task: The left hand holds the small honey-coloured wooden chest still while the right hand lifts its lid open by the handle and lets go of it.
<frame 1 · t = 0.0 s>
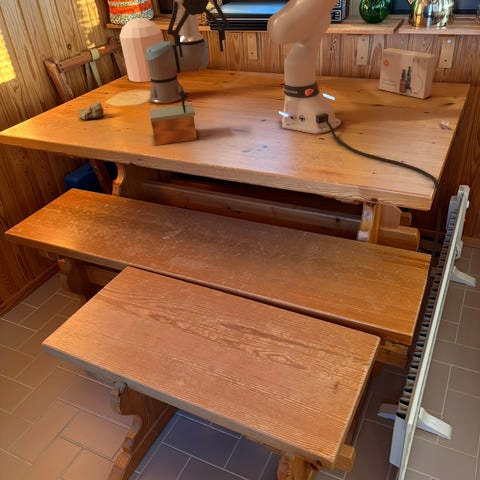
left hand: (201, 53, 154), 28 cm above the table, tool pointing down, fingers open, 13 cm apart
chest: (175, 137, 170), on the table
container: (148, 76, 243), on the table
lid: (170, 102, 162), point 13 cm above the table, hinge at 0.0°
skincare box: (403, 93, 189), on the table
rock: (92, 116, 197), on the table
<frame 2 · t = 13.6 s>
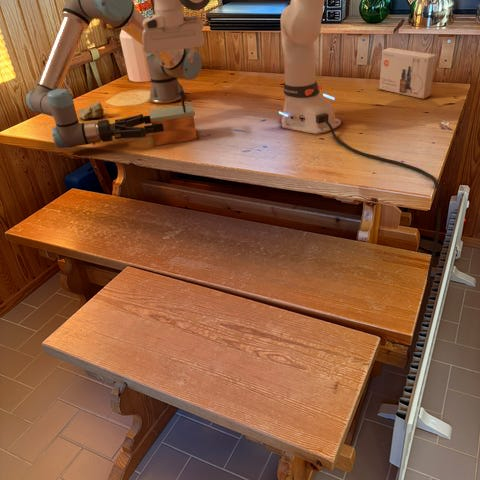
left hand: (162, 122, 166), 6 cm above the table, tool horizontal, fingers closed on chest, 9 cm apart
right hand: (176, 63, 156), 26 cm above the table, tool pointing down, fingers open, 8 cm apart
chest: (175, 137, 170), on the table, touching left hand
everything else where it was.
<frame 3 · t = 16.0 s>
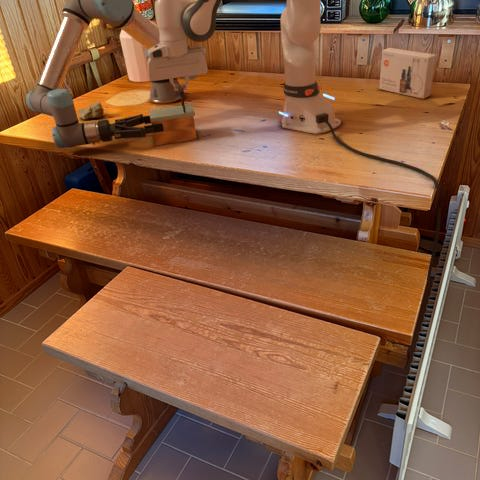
left hand: (162, 122, 166), 6 cm above the table, tool horizontal, fingers closed on chest, 9 cm apart
right hand: (180, 89, 161), 17 cm above the table, tool pointing down, fingers closed on lid, 2 cm apart
chest: (175, 137, 170), on the table, touching left hand
lid: (170, 102, 162), point 13 cm above the table, hinge at 0.0°, touching right hand
everything else where it was.
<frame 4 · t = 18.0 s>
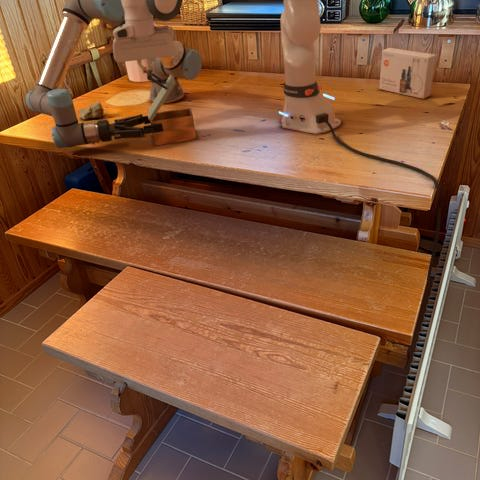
left hand: (161, 122, 166), 6 cm above the table, tool horizontal, fingers closed on chest, 9 cm apart
right hand: (148, 72, 156), 24 cm above the table, tool pointing down, fingers closed, pressing on lid
chest: (174, 137, 170), on the table, touching left hand
lid: (151, 91, 159), point 18 cm above the table, hinge at 48.2°, touching right hand
everything else where it was.
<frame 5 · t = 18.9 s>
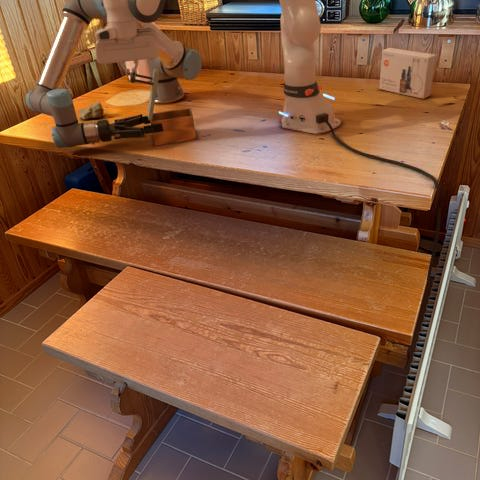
left hand: (161, 122, 166), 6 cm above the table, tool horizontal, fingers closed on chest, 9 cm apart
right hand: (131, 74, 155), 24 cm above the table, tool pointing down, fingers closed
chest: (174, 137, 170), on the table, touching left hand
lid: (141, 92, 159), point 18 cm above the table, hinge at 70.6°, touching right hand
everything else where it was.
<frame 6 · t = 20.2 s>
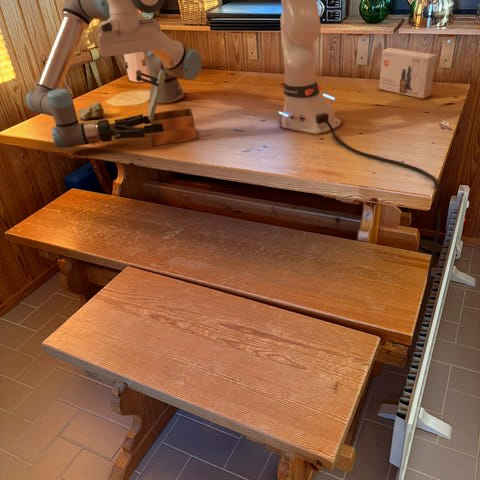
left hand: (162, 122, 166), 6 cm above the table, tool horizontal, fingers closed on chest, 9 cm apart
right hand: (135, 67, 154), 26 cm above the table, tool pointing down, fingers open, 5 cm apart
chest: (175, 137, 170), on the table, touching left hand
lid: (145, 91, 159), point 18 cm above the table, hinge at 62.8°
everything else where it was.
when the left hand's fingers open (6 cm above the table, at t = 22.9 s): chest stays where it is, on the table.
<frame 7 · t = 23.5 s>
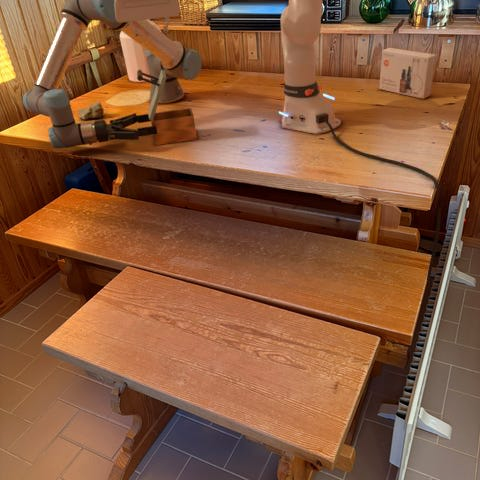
left hand: (156, 123, 165), 6 cm above the table, tool horizontal, fingers open, 13 cm apart
right hand: (151, 34, 149), 36 cm above the table, tool pointing down, fingers open, 8 cm apart
chest: (175, 137, 170), on the table
lid: (146, 91, 159), point 18 cm above the table, hinge at 62.1°
everything else where it was.
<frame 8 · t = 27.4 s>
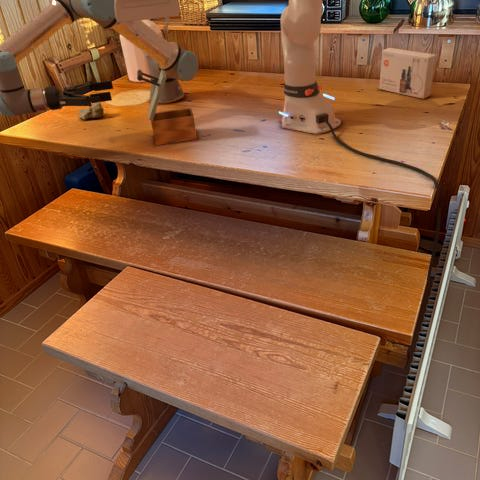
left hand: (111, 90, 156), 20 cm above the table, tool horizontal, fingers open, 13 cm apart
right hand: (151, 34, 149), 36 cm above the table, tool pointing down, fingers open, 8 cm apart
nothing on the table moved.
at the end: lid at +62° (first picture: +0°); the left hand is holding nothing; the right hand is holding nothing; chest tilted 0°; chest never tilted more than 1° during the clip; chest moved 0.0 cm from its start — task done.
